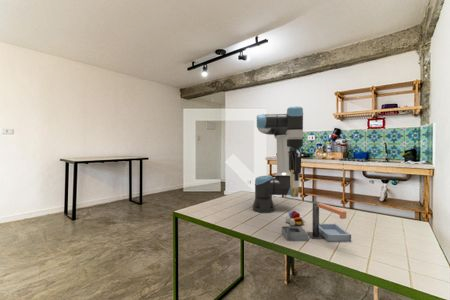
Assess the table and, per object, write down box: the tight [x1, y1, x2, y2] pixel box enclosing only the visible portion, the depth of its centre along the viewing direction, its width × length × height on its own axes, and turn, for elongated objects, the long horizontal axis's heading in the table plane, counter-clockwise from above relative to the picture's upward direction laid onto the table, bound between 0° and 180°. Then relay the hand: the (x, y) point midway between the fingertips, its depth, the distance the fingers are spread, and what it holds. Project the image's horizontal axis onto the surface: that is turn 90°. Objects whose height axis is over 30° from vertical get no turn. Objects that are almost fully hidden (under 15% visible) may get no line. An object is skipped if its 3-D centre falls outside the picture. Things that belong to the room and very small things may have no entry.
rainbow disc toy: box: [285, 210, 305, 226], centre depth 122 cm, size 8×10×7 cm
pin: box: [290, 169, 299, 198], centre depth 105 cm, size 4×4×13 cm
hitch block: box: [281, 225, 309, 242], centre depth 106 cm, size 10×10×3 cm
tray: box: [319, 223, 352, 243], centre depth 106 cm, size 14×11×3 cm
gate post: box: [306, 205, 325, 240], centre depth 105 cm, size 6×6×16 cm
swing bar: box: [312, 201, 347, 220], centre depth 98 cm, size 3×18×3 cm, turn 21°
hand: (294, 186), depth 105 cm, fingers closed on pin, 4 cm apart
